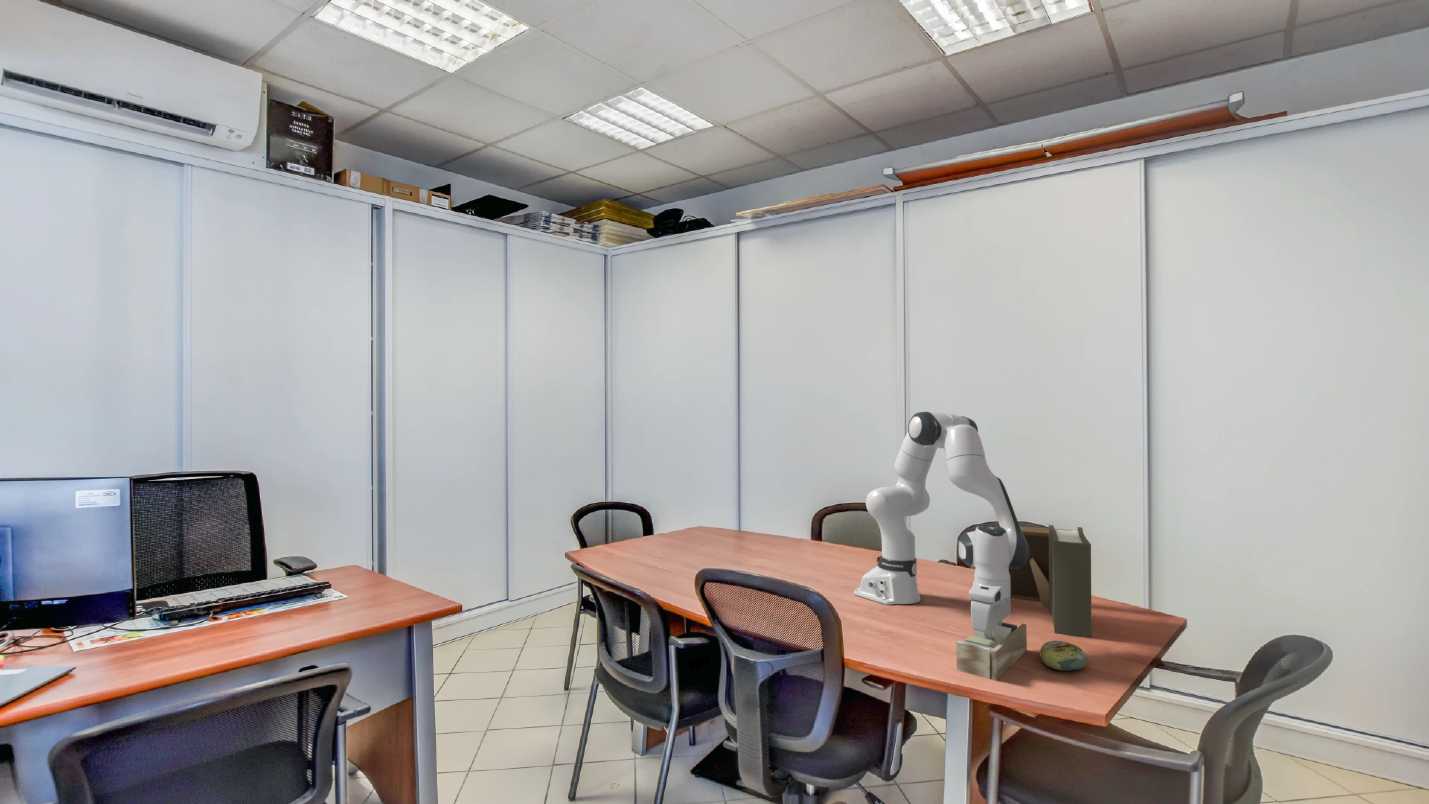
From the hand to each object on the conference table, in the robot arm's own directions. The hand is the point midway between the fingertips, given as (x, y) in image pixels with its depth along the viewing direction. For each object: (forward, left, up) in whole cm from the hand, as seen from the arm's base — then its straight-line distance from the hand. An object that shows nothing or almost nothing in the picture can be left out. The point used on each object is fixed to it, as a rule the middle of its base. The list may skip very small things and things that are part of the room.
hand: (992, 639), depth 165 cm
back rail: (0, -3, -4) cm, 5 cm away
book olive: (0, -7, -5) cm, 8 cm away
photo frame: (-4, +55, -4) cm, 55 cm away
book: (+9, +40, -5) cm, 42 cm away
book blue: (0, -12, -5) cm, 12 cm away
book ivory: (0, 0, -3) cm, 3 cm away
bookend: (0, +10, -4) cm, 11 cm away
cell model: (+15, +6, -5) cm, 17 cm away
